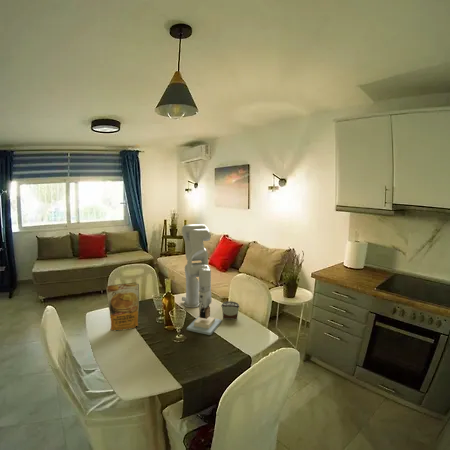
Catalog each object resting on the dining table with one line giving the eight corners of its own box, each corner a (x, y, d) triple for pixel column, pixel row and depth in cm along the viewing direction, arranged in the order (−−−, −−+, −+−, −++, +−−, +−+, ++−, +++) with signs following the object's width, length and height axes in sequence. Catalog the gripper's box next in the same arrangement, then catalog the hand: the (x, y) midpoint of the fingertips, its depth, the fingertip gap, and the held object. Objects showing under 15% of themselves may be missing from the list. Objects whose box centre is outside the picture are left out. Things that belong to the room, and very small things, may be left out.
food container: (239, 315, 198) (240, 301, 196) (239, 319, 192) (239, 305, 190) (221, 314, 199) (222, 300, 198) (220, 318, 193) (221, 304, 192)
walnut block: (199, 317, 180) (199, 308, 179) (202, 314, 185) (202, 305, 184) (206, 319, 178) (206, 309, 178) (209, 315, 183) (210, 306, 182)
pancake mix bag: (108, 327, 179) (106, 284, 175) (140, 322, 186) (138, 281, 181) (107, 332, 173) (105, 288, 169) (140, 327, 179) (139, 284, 175)
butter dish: (186, 330, 177) (186, 323, 177) (199, 317, 194) (199, 311, 193) (210, 335, 172) (210, 328, 171) (221, 321, 188) (221, 316, 188)
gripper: (204, 293, 170) (204, 322, 172) (215, 284, 186) (215, 311, 188) (193, 291, 172) (193, 320, 175) (205, 282, 188) (205, 309, 191)
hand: (204, 315), depth 181 cm, fingers closed on walnut block, 5 cm apart
